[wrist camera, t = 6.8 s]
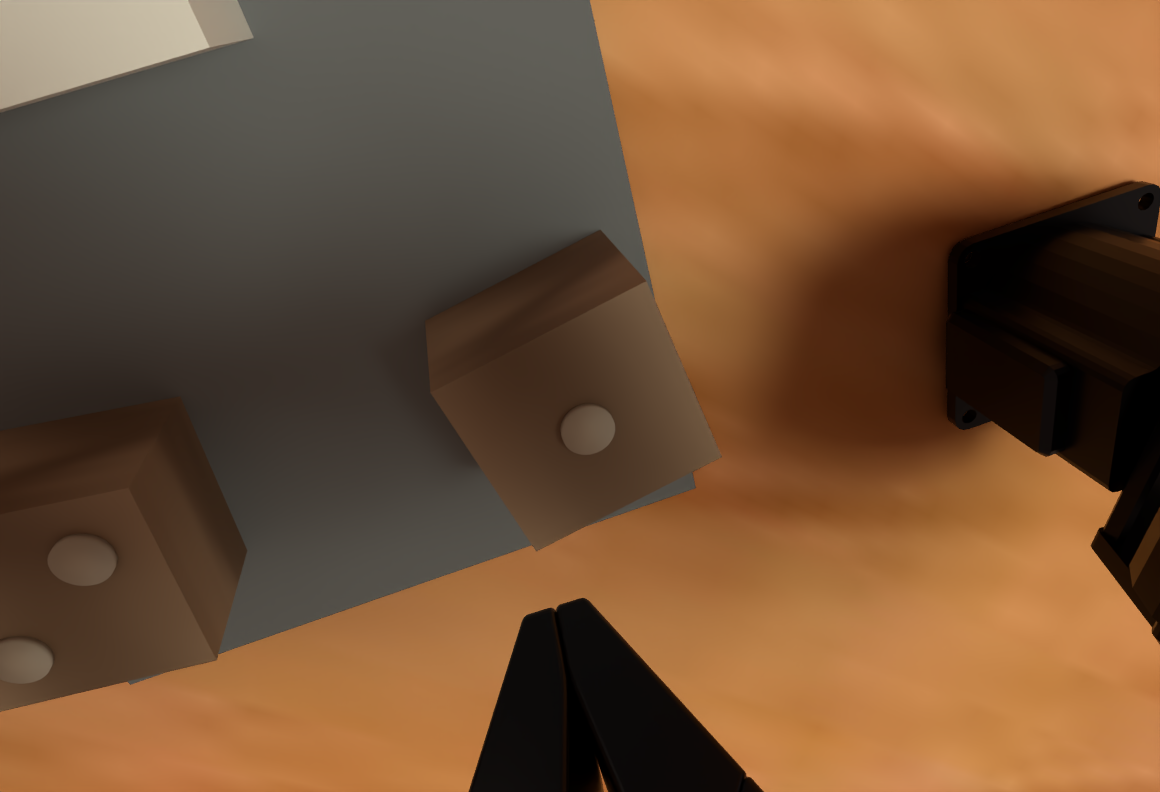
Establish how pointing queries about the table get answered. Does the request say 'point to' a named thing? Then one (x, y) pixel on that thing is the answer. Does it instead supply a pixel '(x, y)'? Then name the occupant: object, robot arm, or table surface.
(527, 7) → the mat
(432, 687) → the table surface
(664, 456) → the pip block one
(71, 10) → the plain block
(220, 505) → the pip block two
